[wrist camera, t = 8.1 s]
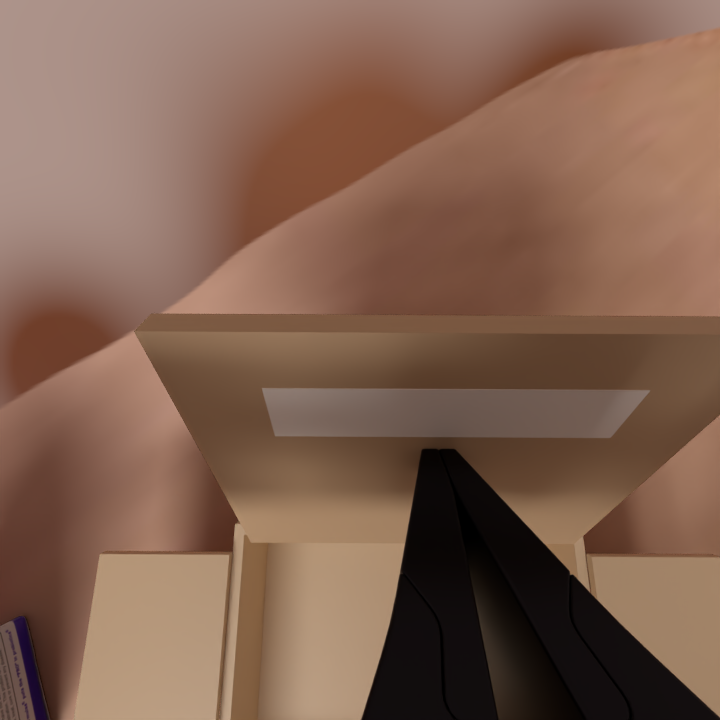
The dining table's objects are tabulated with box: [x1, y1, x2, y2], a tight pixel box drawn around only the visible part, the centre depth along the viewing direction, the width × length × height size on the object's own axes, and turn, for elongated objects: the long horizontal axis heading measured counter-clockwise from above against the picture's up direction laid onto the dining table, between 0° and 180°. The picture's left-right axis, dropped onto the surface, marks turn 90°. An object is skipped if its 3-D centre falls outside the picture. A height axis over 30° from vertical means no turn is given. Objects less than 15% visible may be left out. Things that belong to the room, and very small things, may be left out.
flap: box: [134, 314, 720, 544], centre depth 9 cm, size 1×12×10 cm
